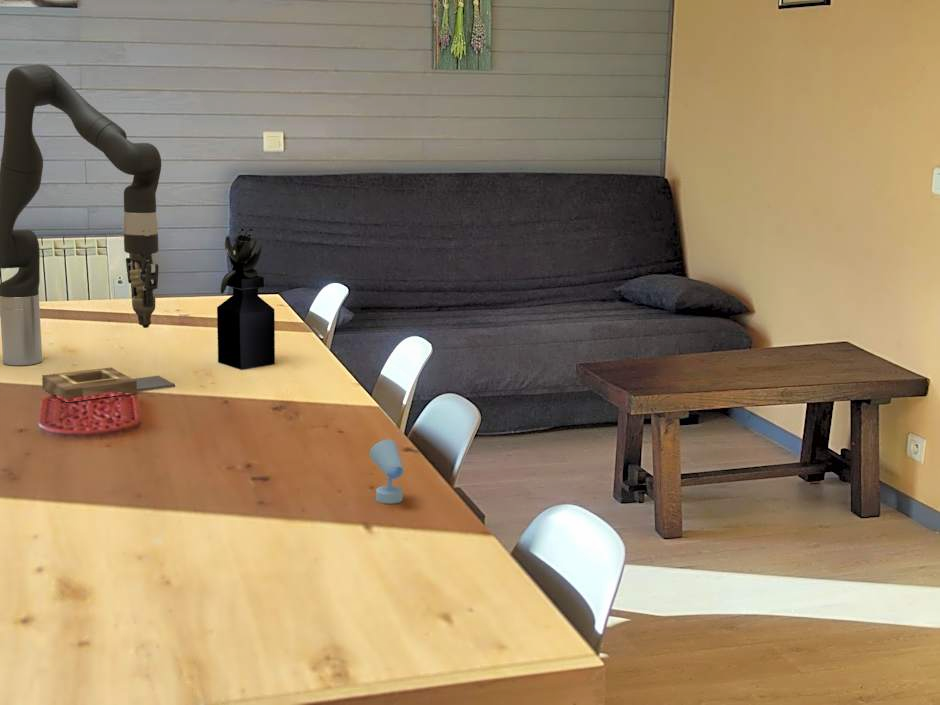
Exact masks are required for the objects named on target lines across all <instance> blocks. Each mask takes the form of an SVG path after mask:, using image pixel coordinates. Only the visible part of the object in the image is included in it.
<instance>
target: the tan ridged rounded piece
mask: <svg viewBox="0 0 940 705" xmlns="http://www.w3.org/2000/svg"><path fill="white" fill-rule="evenodd" d="M140 271H141V273H142V269H140ZM138 273H139V270H138V269H134V270H130V274H131V276H130V280H132V282H131V283H130V286H131V288H133V287H136V292H137V295H136V296H134V297H133V296H132V298H131V305H132V310H133V311H134V313H135V314H136V315H137V321H138V322H137V323H138V325H139V326H142V328H145V329H147V328H149V327H150V325H152V319H151V317H152V314H153V313H154V312H155V309H156V297H155V296H153V306H152V307H144V306H143V296H142V291H143V290H142V285H141V282H140V281H139V280H138V279H139V276H138ZM142 276H143V277H146V274H142ZM153 283H154V281H153ZM149 284H150V281H149Z"/></svg>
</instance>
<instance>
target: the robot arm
mask: <svg viewBox="0 0 940 705" xmlns="http://www.w3.org/2000/svg"><path fill="white" fill-rule="evenodd" d="M4 92H5V93H4V94H5V95H4V98H5V99H4V100H5V102H4V106H5V107H4V108H5V111H4V112H5V113H4V114H5V115H4V119H5V120H4V131H3V132H4V134H3V144H2V155H1V158H0V159H1V160H0V269H18V270H17V272H16V273H15V274H14V275H13V276H12V277H10V278H8V279H6V280H4V281H2V282H0V332H1V333H0V334H1V350H2V363H3V364H4V365H7V366H30V365H37V364H39V363H41V362H43V346H42V345H43V344H42V330H41V329H42V328H41V327H42V326H41V310H40V308H41V307H40V294H39V293H40V291H39V288H40V281H41V279H40V277H41V275H40V274H41V273H40V267H41V266H40V264H41V263H40V259H41V258H40V257H41V256H40V255H41V252H40V243H39V239H38V237H37V234H36V233H35V232H34V231H32V230H30V229H17V230H16V229H15V230H14V227H15V224H16V221H17V220H18V217H19V216H20V215H21V213H22V212H23V211H24V209H25V208H26V207H27V206H28V204H29V203H30V202H31V201H32V200H33V199H34V197H35V196H36V195H37V193H38V191H39V190H40V188H41V187H40V186H41V183H42V177H43V170H44V158H43V154H42V152H41V149H40V147H39V144H38V142H37V140H36V138H35V135H34V133H33V120H34V119H33V118H34V113H35V108H36V107H42V106H47V105H50V106H52V107H55V108H56V109H59V110H60V111H62V112H63V113H65V114H66V116H68V117H69V118H70V120H71V122H72V124H73V127H74V129H75V130H76V132H77V133H78V134H79V135H80V136H81V137H82V139H84V140H85V141H86V142H87V143H89V144H91V145H92V146H93V147H94V148H96V149H97V150H99V151H100V152H102V153H103V155H104V156H105V157H106V158H107V159H108V160H109V161H110V163H111V164H112V165H113V166H114V167H115V168H116V169H117V170H119V171H120V172H122V173H124V174H126V175H129V176H133V179H132V183H131V184H130V185H128V186H126V187H125V189H124V190H123V213H124V214H123V224H122V225H123V246H124V247H123V249H124V252H125V253H126V254H131V256H130V257H126V258H125V265H126V274H127V283H128V284H131V282H132V280H130V276H131V274H130V270H134V269H138V270H139V273H138V276H139V279H138V280H139V281H140V282H141V285H142V290H143V291H142V296H143V306H144V307H152V306H153V297H154V291H155V290H158V280H159V264H158V263H154V261H153V254H156V253H157V254H158V252H159V225H158V224H159V222H158V216H157V198H156V197H157V194H156V193H157V189H158V186H159V181H160V177H161V176H160V175H161V170H162V158H161V155H160V154H161V153H160V151H159V150H158V148H157V147H156V146H155V145H153V143H149V142H135V143H134V142H131V141H130V140H128V137H127V133H126V131H125V130H124V129H123V128H122V127H121V126H119V125H118V124H117V123H116V122H114V121H112V119H110V118H108V117H107V116H106V115H104V114H103V113H101V112H100V111H98V110H97V109H96V108H95V107H94V106H92V105H91V104H90V103H89V102H88V101H87V100H86V99H85V98H84V97H83V96H82V95H81V94H80V93H78V91H77V90H76V89H74V88H73V87H72V85H70V84H69V83H68V82H67V80H66V79H64V78H63V76H62V75H61V74H59V73H58V72H57V71H56V70H55V69H54V68H52V67H51V66H49V65H46V64H31V65H30V64H28V65H22V66H16V67H14V68H12V69H11V70H10V71H9V72H8V73H7V76H6V80H5V90H4ZM140 269H142V273H141V271H140ZM142 274H146V277H143V276H142ZM149 281H150V284H149ZM153 282H154V283H153ZM136 295H137V292H136V287H132V298H133V297H134V296H136Z"/></svg>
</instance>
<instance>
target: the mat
mask: <svg viewBox="0 0 940 705" xmlns="http://www.w3.org/2000/svg"><path fill="white" fill-rule="evenodd" d="M133 379H134V380H136V381H137V393H138V392H143V391H144V392H145V391H152V390H159V389H167V388H175V387H176V384H175V383H174V382H173V381H172V382H171V381H170V380H168V379H165V377H162V376H160V375H153V376H152V375H151V376H145V377H138V378H137V377H136V378H133Z"/></svg>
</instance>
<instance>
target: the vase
mask: <svg viewBox="0 0 940 705" xmlns="http://www.w3.org/2000/svg"><path fill="white" fill-rule="evenodd" d="M243 231H244V229H243V228H240V231H239V234H238V235H236V237H234V240H235V241H234V244H233V245H232V242H231V238H230V235H228V234H227V235H226V237H225V240H224V248H225V252H226V253H227V254H228V258H229V263H230V264H231V267H232V269H231V270H230V271H228V272H227V273H226V274H225V275H224V277H223V278H222V280H221V284H220V294H224V292H225V291H226V288H227V287H228V288H232V295H231V296H230V297H229V298H227V299H226V300H225V301H223V302H222V303H221V304H219V305H218V306H217V307H216V315H217V316H216V318H217V320H216V322H217V323H216V324H217V330H216V332H217V363H218V364H222V365H225V366H227V367H231V368H234V369H237V370H240V371H243V370H251V369H256V368H263V367H268V366H275V365H274V364H276V363H275V362H276V353H275V352H276V349H275V348H276V347H275V346H276V345H275V344H276V342H275V341H276V339H275V337H276V336H275V335H276V334H275V330H276V329H275V328H276V327H275V325H276V324H275V322H276V321H275V318H276V317H275V314H276V313H275V308H274V307H272V306H271V305H270V304H269V303H267V302H266V301H265V300H263V299H262V298H261V297H260V296H259V289H260V288H261V289H262V288H265V277H263V276H259V274H260V272H259V271H258V270H257V269H255V267H256V265H257V264H258V263H259V261H260V258H261V254H262V249H263V247H262V245H260V246H259V249H258V251H257V252H255V249H256V247H257V243H258V241H257V239H255V240H254V243H253V245H252V247H251V244H252V242H253V237H251V236H252V234H250V233H249V234H248V235H247V233H248V232H250V231H251V232H252V231H253V228H250V229H248V230H247V231H245V233H244V234H240V233H241V232H243ZM254 252H255V253H254Z"/></svg>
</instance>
